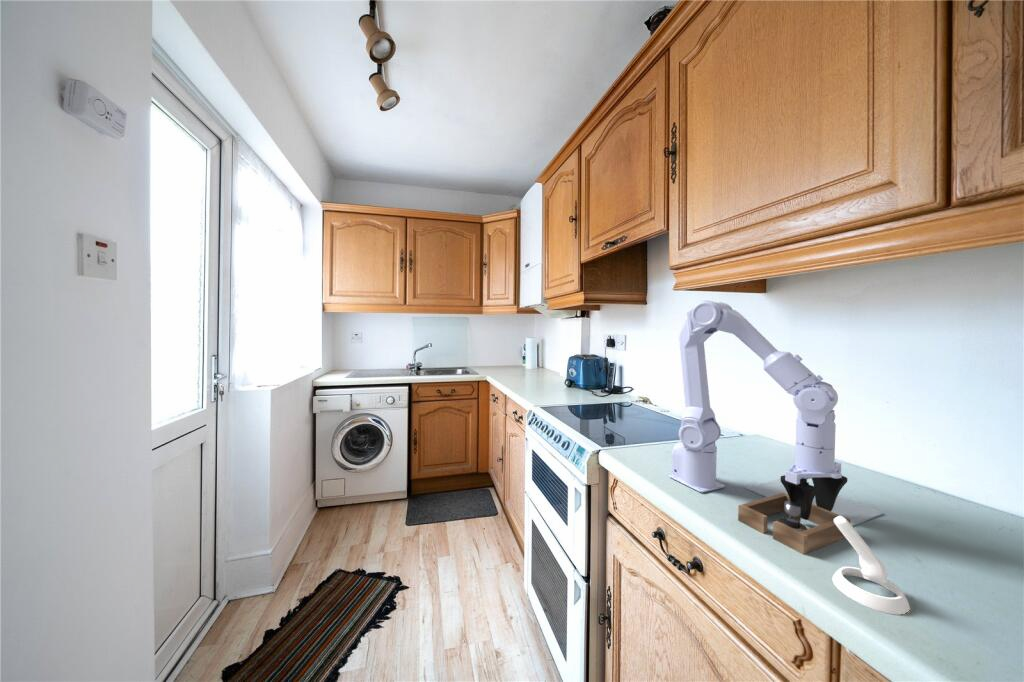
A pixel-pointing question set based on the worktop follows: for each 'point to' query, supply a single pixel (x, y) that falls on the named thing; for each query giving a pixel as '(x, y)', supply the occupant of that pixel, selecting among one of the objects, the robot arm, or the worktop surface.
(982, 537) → the worktop surface
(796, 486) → the robot arm
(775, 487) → the mat
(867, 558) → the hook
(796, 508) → the post
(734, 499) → the worktop surface
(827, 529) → the wooden frame
